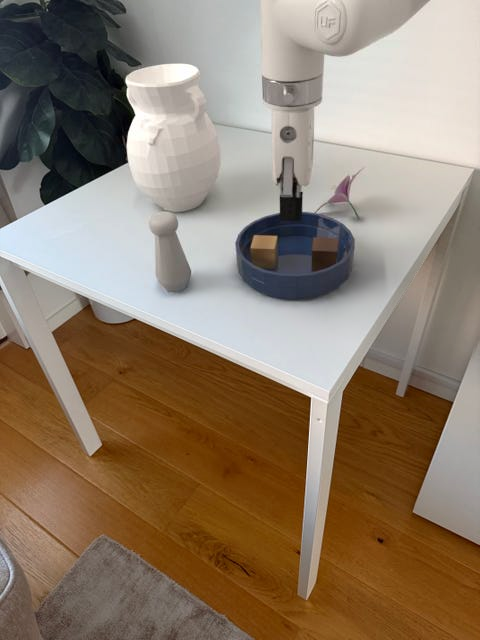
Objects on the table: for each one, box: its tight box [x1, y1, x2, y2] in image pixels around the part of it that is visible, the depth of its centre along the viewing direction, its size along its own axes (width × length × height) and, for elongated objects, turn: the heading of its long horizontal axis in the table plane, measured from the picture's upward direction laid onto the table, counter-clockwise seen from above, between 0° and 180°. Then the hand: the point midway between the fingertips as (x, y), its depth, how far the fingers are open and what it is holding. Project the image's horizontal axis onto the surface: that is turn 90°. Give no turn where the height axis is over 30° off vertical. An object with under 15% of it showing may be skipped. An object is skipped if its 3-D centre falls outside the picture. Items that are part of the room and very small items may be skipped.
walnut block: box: [311, 237, 338, 271], centre depth 79 cm, size 4×4×4 cm
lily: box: [314, 166, 365, 220], centre depth 91 cm, size 12×12×10 cm
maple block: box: [250, 235, 278, 269], centre depth 81 cm, size 4×4×4 cm
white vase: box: [125, 63, 221, 213], centre depth 94 cm, size 19×18×25 cm
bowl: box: [235, 211, 356, 301], centre depth 80 cm, size 19×19×5 cm
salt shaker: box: [148, 210, 192, 293], centre depth 76 cm, size 6×6×13 cm
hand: (290, 217), depth 72 cm, fingers closed
